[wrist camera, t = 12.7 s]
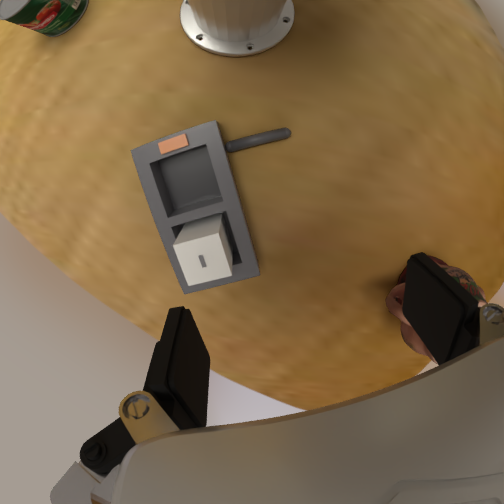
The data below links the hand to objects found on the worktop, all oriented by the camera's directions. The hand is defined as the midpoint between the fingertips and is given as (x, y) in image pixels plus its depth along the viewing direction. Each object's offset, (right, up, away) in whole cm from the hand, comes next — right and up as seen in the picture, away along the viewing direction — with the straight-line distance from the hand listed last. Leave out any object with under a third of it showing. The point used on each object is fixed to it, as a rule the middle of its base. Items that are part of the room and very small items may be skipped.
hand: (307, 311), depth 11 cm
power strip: (-5, +9, +20) cm, 22 cm away
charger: (-7, +4, +21) cm, 23 cm away
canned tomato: (-27, +34, +8) cm, 45 cm away
